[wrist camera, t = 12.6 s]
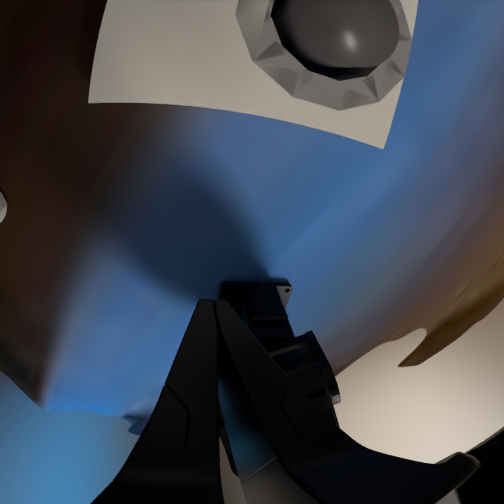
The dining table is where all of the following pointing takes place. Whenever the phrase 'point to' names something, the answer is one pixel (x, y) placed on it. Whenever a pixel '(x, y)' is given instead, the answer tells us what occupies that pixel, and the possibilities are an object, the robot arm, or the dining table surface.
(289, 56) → the board
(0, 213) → the photo printer
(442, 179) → the dining table surface
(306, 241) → the dining table surface
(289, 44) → the cap
